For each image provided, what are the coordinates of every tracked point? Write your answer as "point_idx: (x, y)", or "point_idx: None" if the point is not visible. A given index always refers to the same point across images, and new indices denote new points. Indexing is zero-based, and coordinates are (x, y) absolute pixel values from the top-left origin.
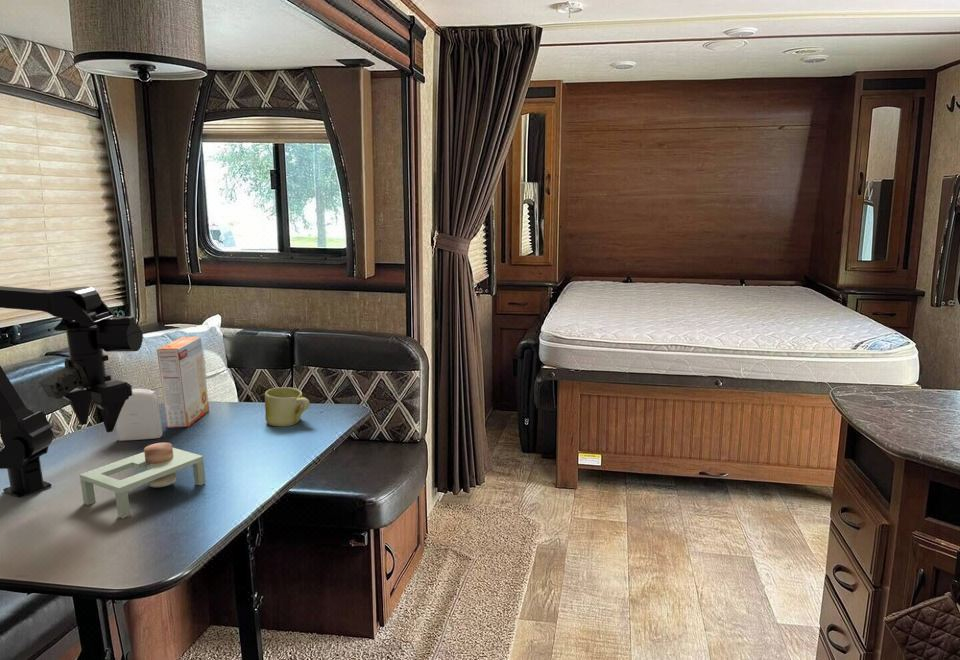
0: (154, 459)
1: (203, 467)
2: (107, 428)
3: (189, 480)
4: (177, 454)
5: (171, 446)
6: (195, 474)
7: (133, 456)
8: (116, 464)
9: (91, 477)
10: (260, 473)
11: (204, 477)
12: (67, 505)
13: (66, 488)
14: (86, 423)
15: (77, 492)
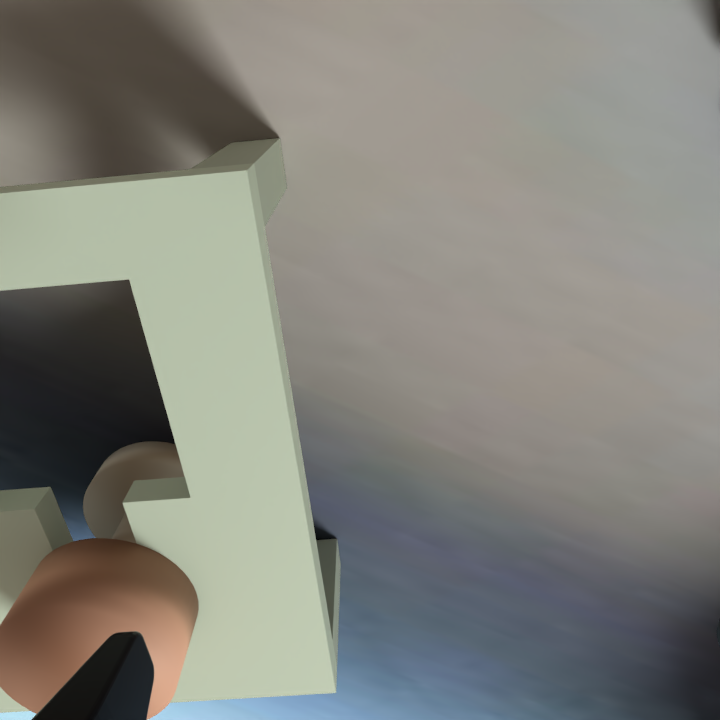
0: (33, 578)
1: None
2: (71, 682)
3: None
4: None
5: (31, 710)
6: None
7: (294, 543)
8: (233, 427)
9: (91, 199)
10: (8, 713)
11: None
12: (339, 57)
13: (615, 182)
14: (718, 638)
15: (488, 195)
